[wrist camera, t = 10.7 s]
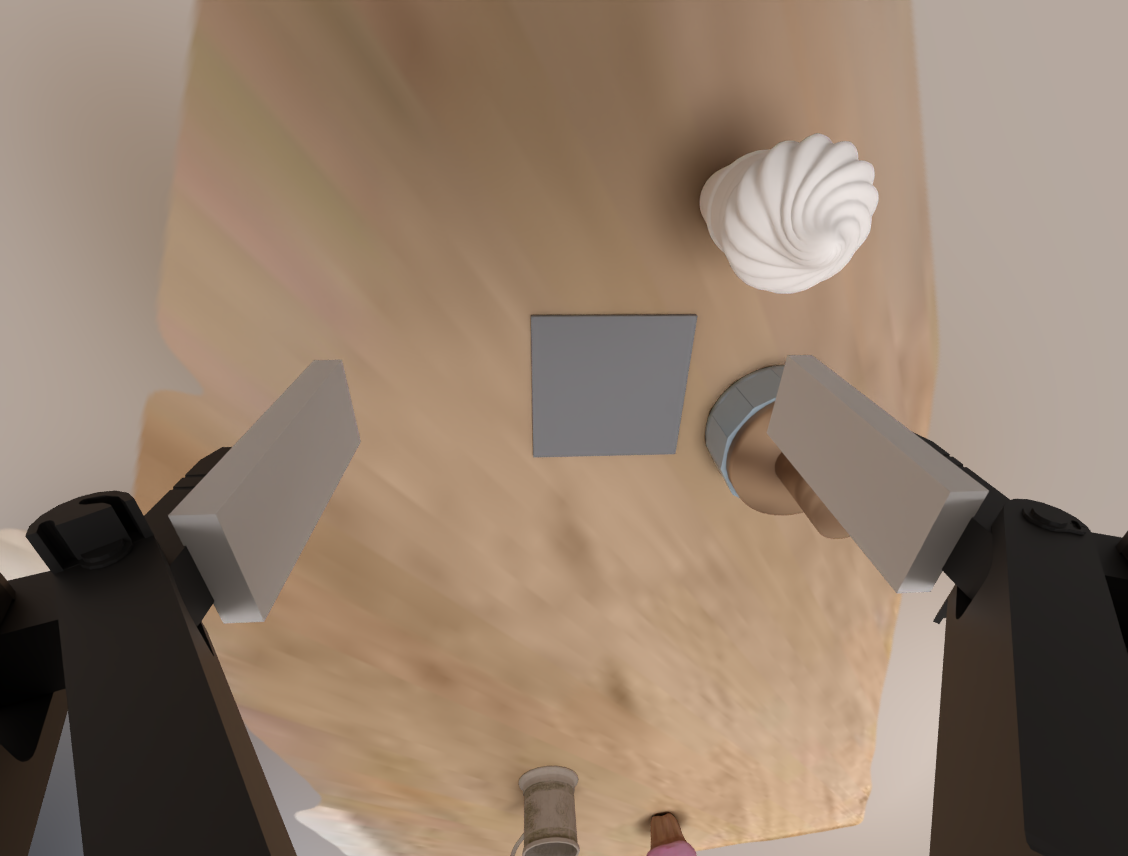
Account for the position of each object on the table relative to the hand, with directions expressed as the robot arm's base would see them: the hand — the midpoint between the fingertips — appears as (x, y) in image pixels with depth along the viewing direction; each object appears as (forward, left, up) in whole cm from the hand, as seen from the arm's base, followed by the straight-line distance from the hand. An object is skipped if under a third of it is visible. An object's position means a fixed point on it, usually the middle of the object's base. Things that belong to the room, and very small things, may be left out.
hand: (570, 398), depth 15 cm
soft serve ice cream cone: (-3, +14, -27) cm, 30 cm away
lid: (+17, +22, -22) cm, 35 cm away
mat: (+13, +6, -27) cm, 30 cm away
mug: (+87, -1, -27) cm, 91 cm away
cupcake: (+102, +22, -27) cm, 108 cm away
